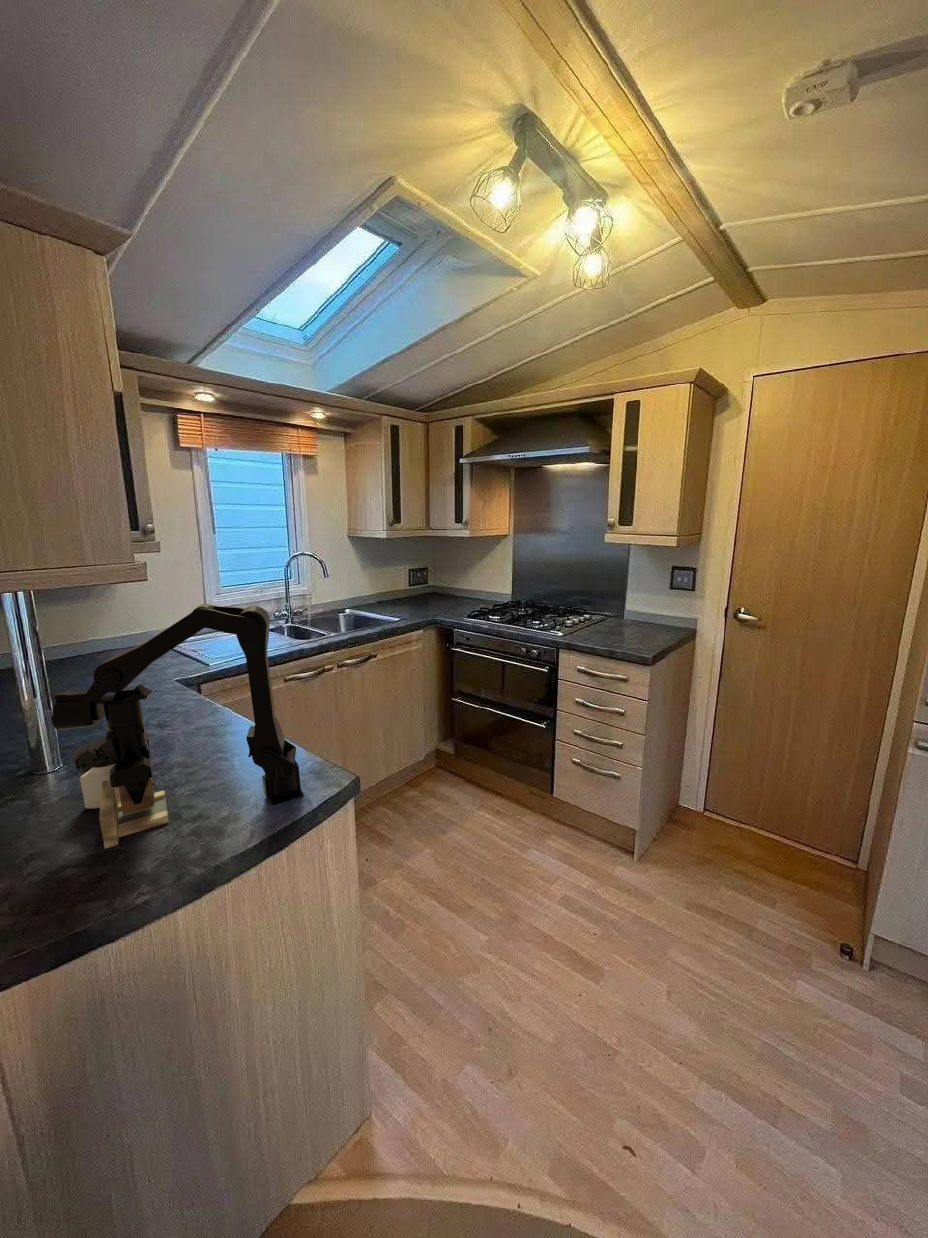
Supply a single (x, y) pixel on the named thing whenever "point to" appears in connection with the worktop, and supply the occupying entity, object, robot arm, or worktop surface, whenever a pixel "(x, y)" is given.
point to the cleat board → (127, 816)
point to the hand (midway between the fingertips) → (137, 797)
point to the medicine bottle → (96, 784)
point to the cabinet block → (128, 803)
